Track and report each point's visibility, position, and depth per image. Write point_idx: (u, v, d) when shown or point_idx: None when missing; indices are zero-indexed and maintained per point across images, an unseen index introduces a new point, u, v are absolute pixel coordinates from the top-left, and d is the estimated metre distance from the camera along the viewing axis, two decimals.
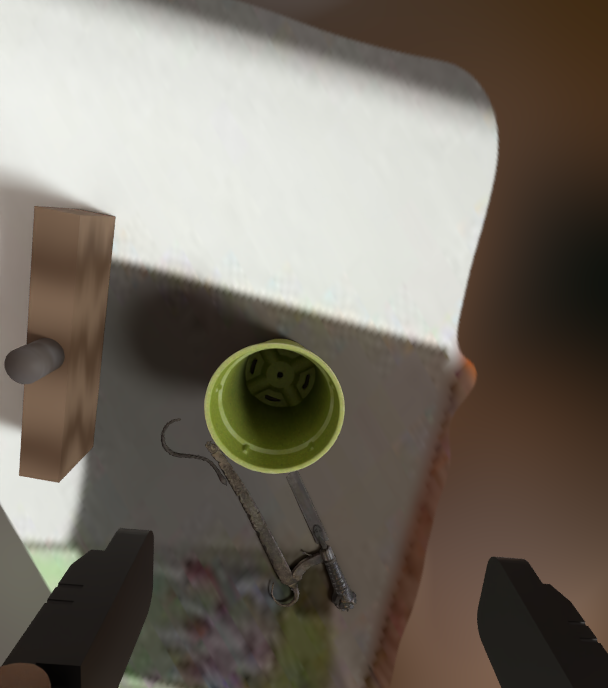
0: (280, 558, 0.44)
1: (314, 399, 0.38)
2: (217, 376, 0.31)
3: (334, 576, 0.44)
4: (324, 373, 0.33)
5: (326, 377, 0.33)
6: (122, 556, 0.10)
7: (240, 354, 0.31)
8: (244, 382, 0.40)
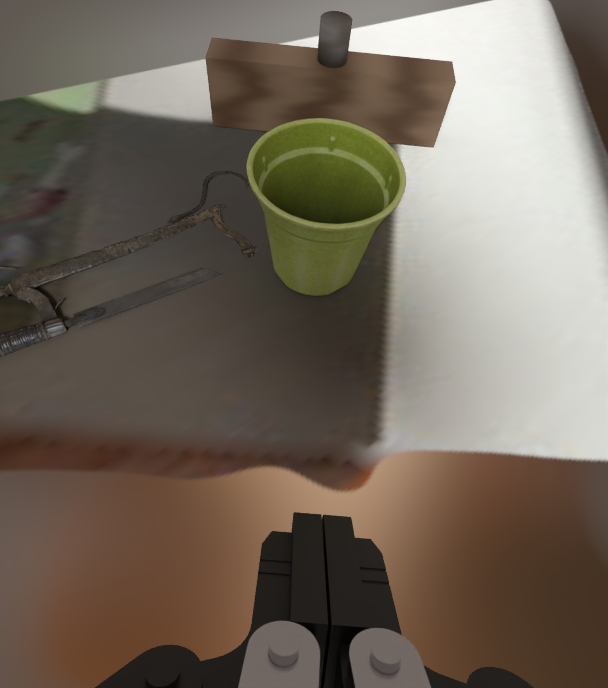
0: (57, 273, 0.33)
1: (300, 275, 0.32)
2: (354, 128, 0.30)
3: (16, 333, 0.30)
4: None
5: None
6: (311, 536, 0.11)
7: (383, 143, 0.29)
8: None
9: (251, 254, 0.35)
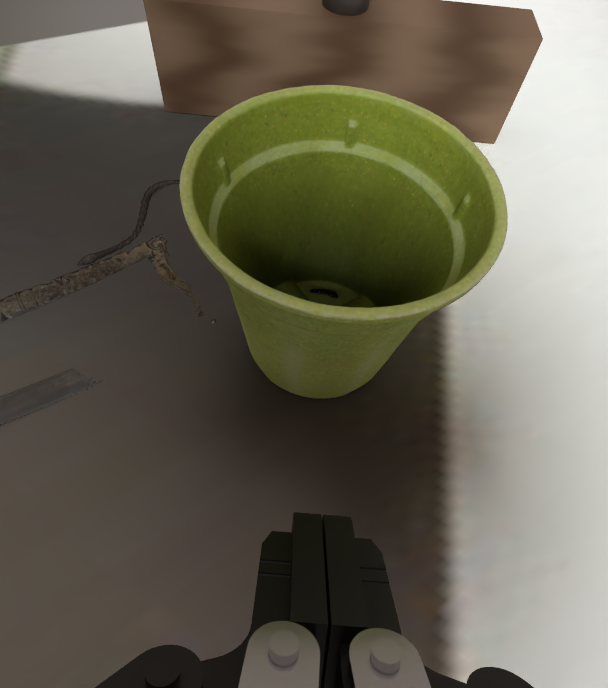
0: None
1: (293, 373, 0.17)
2: (395, 103, 0.16)
3: None
4: None
5: None
6: (311, 536, 0.11)
7: (452, 131, 0.15)
8: (297, 273, 0.22)
9: (212, 321, 0.21)
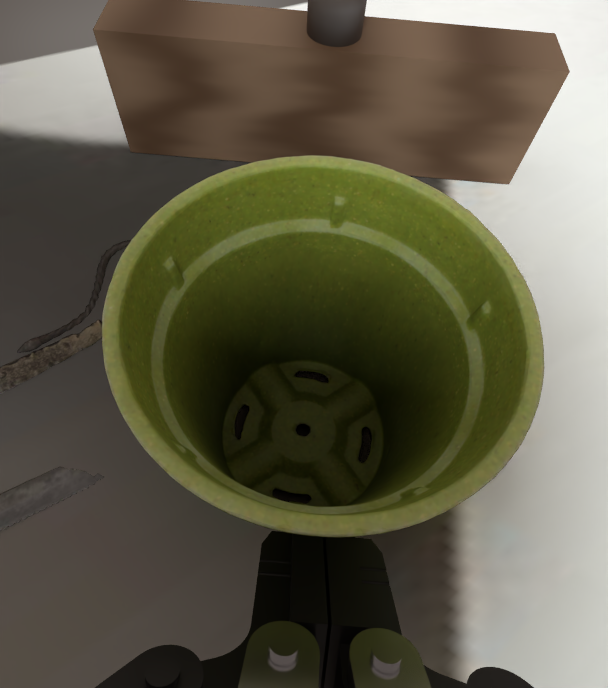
0: None
1: None
2: (393, 179, 0.12)
3: None
4: (435, 470, 0.10)
5: (422, 480, 0.10)
6: (310, 536, 0.11)
7: (467, 219, 0.12)
8: (279, 355, 0.18)
9: None
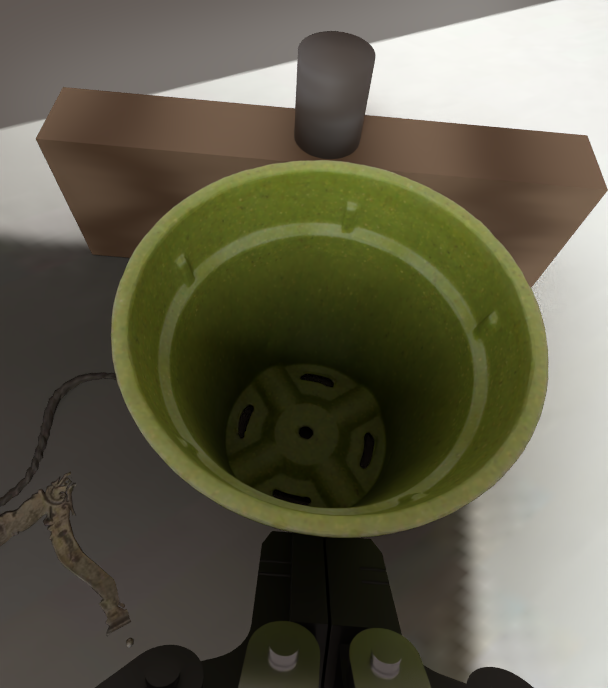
0: None
1: None
2: (406, 186, 0.12)
3: None
4: (434, 477, 0.10)
5: (421, 486, 0.10)
6: (311, 536, 0.11)
7: (478, 229, 0.12)
8: (286, 357, 0.18)
9: (128, 643, 0.14)
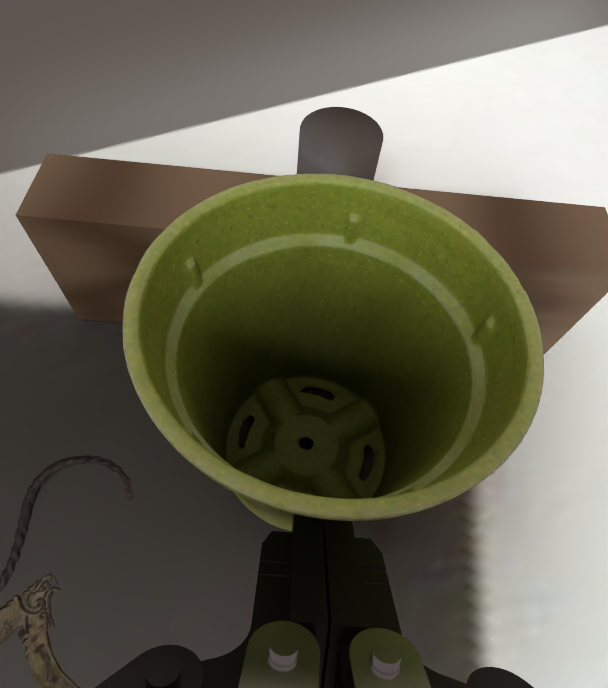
0: None
1: None
2: (406, 199, 0.13)
3: None
4: (434, 473, 0.11)
5: (421, 481, 0.10)
6: (311, 536, 0.11)
7: (475, 238, 0.12)
8: (287, 369, 0.19)
9: None
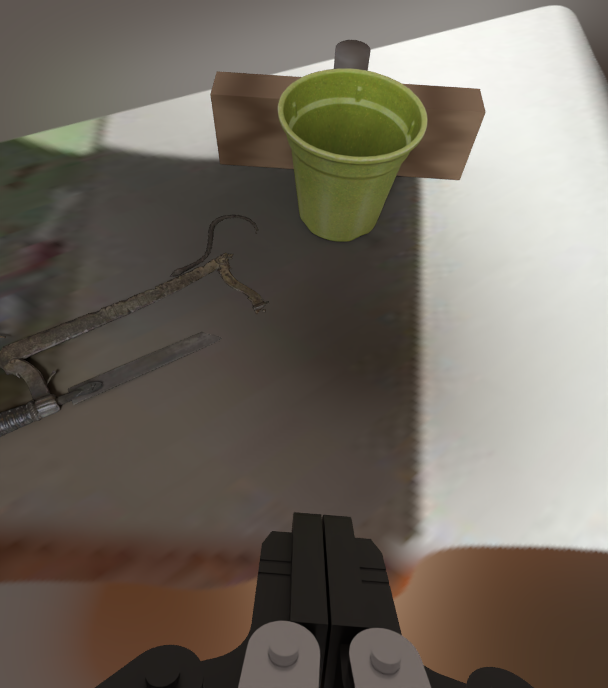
0: (49, 340, 0.30)
1: (324, 218, 0.33)
2: (380, 77, 0.32)
3: (3, 416, 0.27)
4: None
5: None
6: (311, 536, 0.11)
7: (407, 90, 0.31)
8: None
9: (263, 310, 0.32)
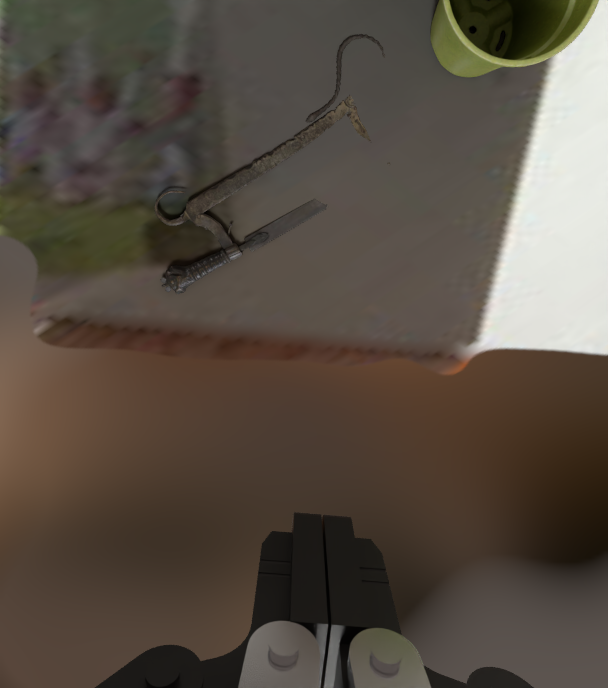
0: (220, 197, 0.38)
1: (459, 65, 0.34)
2: None
3: (208, 263, 0.39)
4: (539, 50, 0.30)
5: (533, 53, 0.30)
6: (311, 536, 0.11)
7: None
8: None
9: (388, 164, 0.37)
